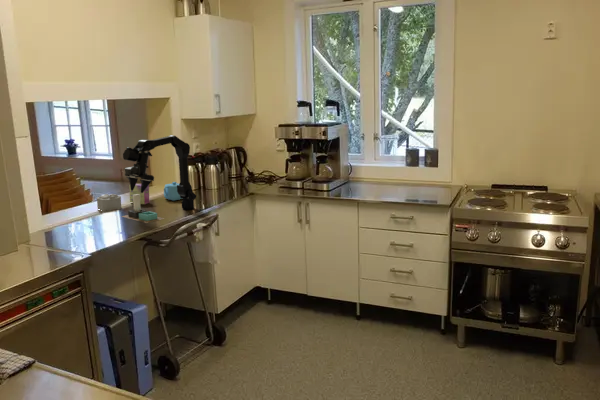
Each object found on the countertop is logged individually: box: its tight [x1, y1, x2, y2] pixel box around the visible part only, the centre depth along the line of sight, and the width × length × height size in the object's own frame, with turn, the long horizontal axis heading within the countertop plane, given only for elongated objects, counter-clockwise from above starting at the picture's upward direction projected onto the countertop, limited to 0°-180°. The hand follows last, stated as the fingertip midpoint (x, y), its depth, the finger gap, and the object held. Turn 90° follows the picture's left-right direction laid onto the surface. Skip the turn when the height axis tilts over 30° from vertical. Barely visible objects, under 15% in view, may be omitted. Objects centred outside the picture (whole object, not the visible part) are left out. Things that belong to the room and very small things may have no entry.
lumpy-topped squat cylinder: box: [96, 193, 122, 212], centre depth 301 cm, size 10×13×9 cm
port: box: [139, 210, 158, 221], centre depth 276 cm, size 7×7×3 cm
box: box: [128, 183, 150, 205], centre depth 317 cm, size 10×6×12 cm, turn 74°
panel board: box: [120, 209, 165, 224], centre depth 279 cm, size 22×12×4 cm, turn 54°
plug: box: [132, 194, 142, 212], centre depth 280 cm, size 4×4×12 cm
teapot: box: [163, 181, 183, 202], centre depth 330 cm, size 12×18×12 cm
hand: (136, 191), depth 276 cm, fingers open, 9 cm apart
